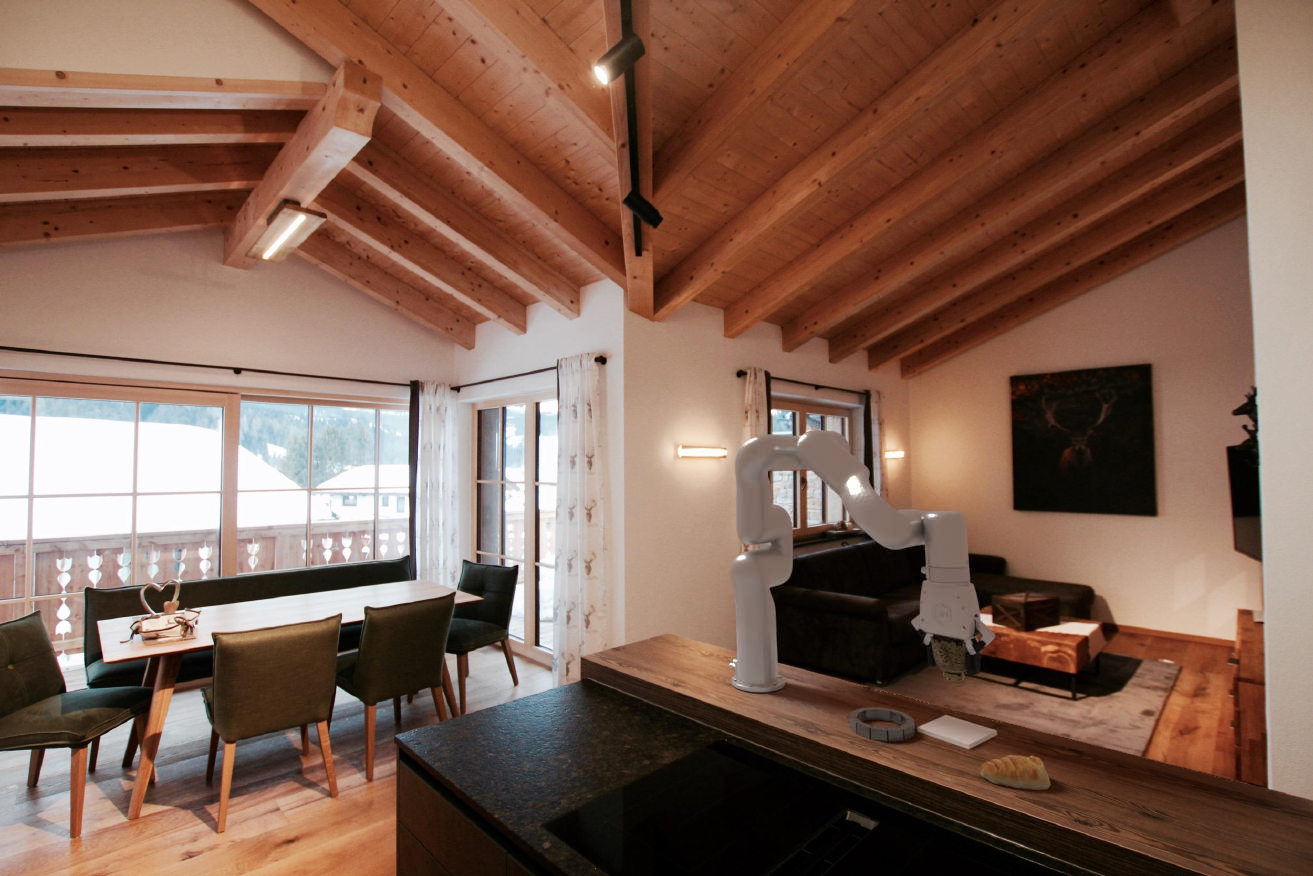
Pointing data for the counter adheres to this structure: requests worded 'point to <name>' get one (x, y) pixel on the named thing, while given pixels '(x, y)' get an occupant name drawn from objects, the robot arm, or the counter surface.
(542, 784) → the counter surface
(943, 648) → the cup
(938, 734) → the stone coaster
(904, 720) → the stone ring
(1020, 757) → the pastry
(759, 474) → the robot arm
